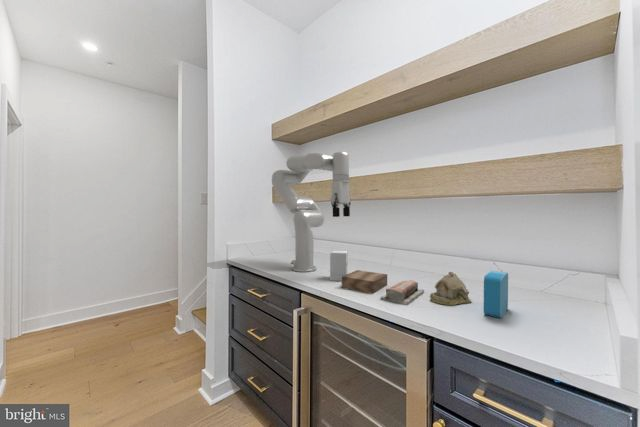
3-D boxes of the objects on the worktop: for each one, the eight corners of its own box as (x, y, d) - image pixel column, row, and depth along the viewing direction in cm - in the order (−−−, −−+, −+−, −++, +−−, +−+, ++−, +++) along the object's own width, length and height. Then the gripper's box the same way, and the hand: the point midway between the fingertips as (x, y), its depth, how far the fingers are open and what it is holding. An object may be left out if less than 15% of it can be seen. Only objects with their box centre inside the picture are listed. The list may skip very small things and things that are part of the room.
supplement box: (346, 281, 121) (346, 253, 121) (329, 280, 122) (329, 252, 122) (347, 277, 128) (347, 250, 128) (332, 276, 130) (332, 250, 130)
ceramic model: (446, 292, 105) (446, 267, 105) (476, 301, 96) (476, 272, 96) (424, 299, 97) (424, 271, 97) (454, 309, 88) (455, 278, 88)
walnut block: (341, 288, 112) (341, 276, 112) (357, 281, 123) (357, 270, 123) (373, 294, 104) (373, 281, 104) (387, 286, 115) (387, 274, 115)
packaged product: (407, 292, 91) (380, 287, 97) (407, 306, 91) (380, 300, 97) (424, 281, 105) (399, 277, 111) (424, 293, 105) (399, 289, 111)
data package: (491, 305, 91) (492, 269, 91) (508, 308, 88) (508, 271, 88) (483, 315, 82) (483, 276, 82) (500, 319, 79) (501, 278, 79)
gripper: (342, 181, 135) (343, 216, 135) (323, 178, 121) (324, 216, 121) (356, 180, 131) (357, 216, 131) (338, 176, 116) (339, 216, 116)
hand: (341, 216), depth 126 cm, fingers open, 9 cm apart
